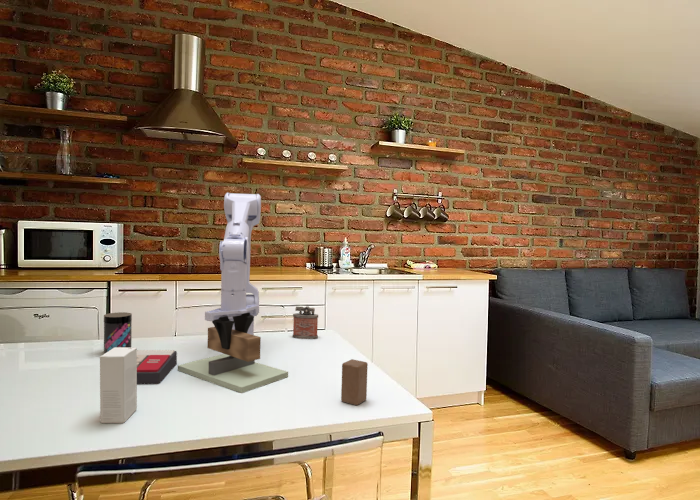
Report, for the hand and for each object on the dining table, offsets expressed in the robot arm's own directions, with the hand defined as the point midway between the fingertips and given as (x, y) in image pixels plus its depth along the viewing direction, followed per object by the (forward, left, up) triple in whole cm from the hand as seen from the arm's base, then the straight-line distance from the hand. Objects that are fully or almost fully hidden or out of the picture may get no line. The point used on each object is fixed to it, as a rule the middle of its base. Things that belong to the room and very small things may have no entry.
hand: (232, 346), depth 108 cm
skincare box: (+4, -29, -7) cm, 30 cm away
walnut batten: (0, 0, -2) cm, 2 cm away
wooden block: (+32, +5, -7) cm, 33 cm away
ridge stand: (0, 0, -6) cm, 6 cm away
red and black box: (-15, -13, -7) cm, 21 cm away
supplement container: (-36, -9, -7) cm, 38 cm away
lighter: (-11, +38, -7) cm, 40 cm away
